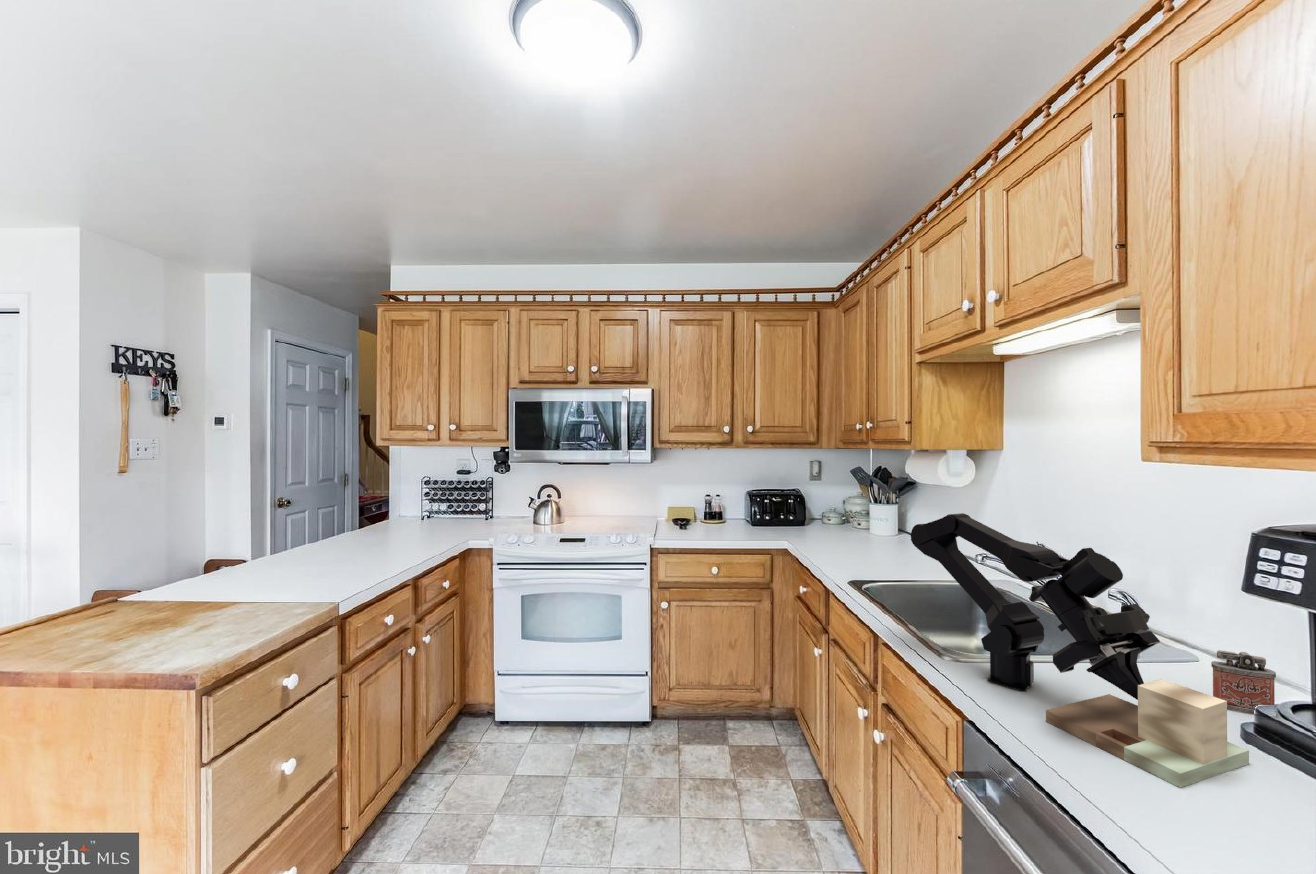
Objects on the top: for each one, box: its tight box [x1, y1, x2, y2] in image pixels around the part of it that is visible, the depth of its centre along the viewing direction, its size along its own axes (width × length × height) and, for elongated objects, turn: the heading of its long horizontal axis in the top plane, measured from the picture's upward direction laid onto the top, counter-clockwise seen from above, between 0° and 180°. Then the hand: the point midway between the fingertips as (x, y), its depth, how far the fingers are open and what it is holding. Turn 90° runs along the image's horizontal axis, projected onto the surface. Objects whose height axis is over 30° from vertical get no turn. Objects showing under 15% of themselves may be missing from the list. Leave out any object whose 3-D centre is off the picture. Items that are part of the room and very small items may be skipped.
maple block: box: [1137, 678, 1228, 765], centre depth 84 cm, size 8×6×8 cm
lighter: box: [1210, 649, 1277, 715], centre depth 99 cm, size 8×3×10 cm, turn 59°
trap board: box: [1045, 693, 1250, 788], centre depth 89 cm, size 19×16×2 cm
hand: (1147, 702), depth 88 cm, fingers closed, pressing on maple block
